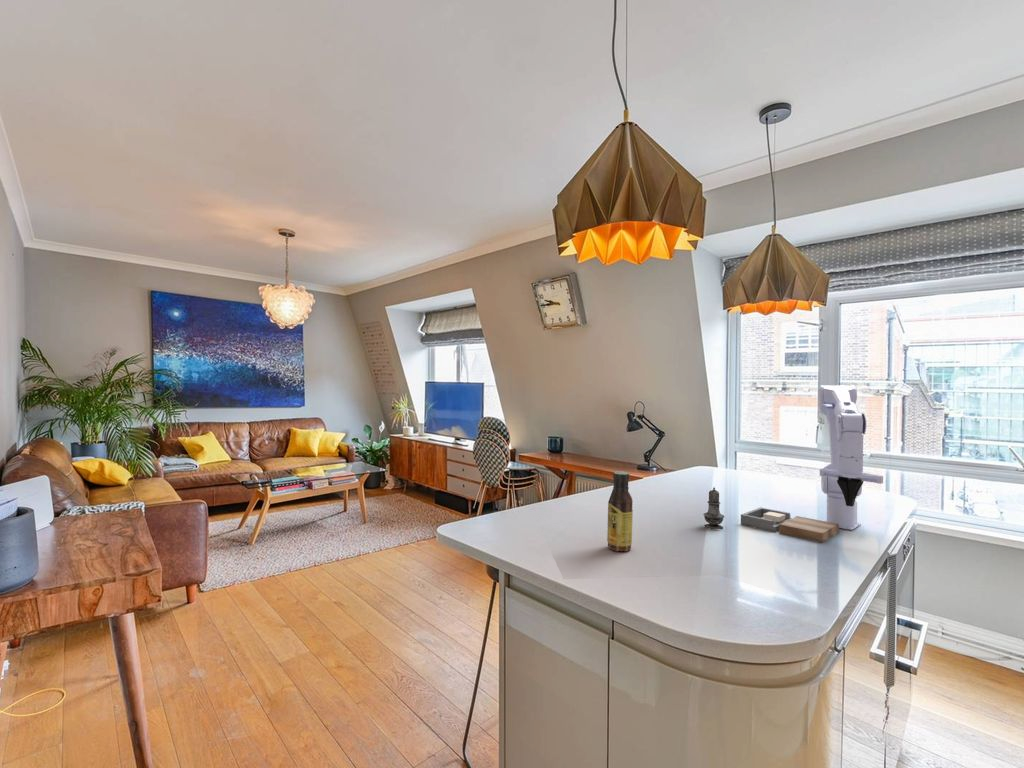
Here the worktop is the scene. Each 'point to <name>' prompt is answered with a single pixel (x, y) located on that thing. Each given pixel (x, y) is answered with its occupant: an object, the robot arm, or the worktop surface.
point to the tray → (757, 521)
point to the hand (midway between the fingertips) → (849, 505)
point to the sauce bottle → (620, 514)
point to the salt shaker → (713, 511)
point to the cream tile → (774, 516)
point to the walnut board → (809, 528)
